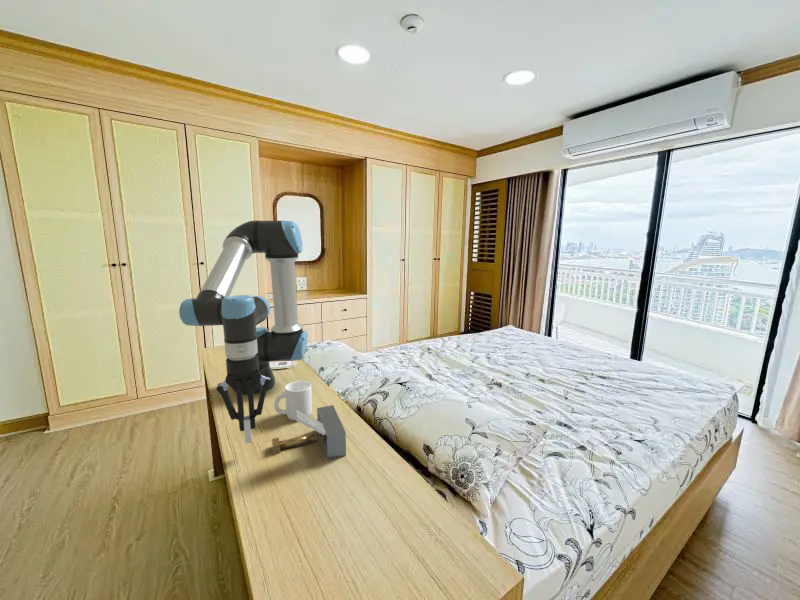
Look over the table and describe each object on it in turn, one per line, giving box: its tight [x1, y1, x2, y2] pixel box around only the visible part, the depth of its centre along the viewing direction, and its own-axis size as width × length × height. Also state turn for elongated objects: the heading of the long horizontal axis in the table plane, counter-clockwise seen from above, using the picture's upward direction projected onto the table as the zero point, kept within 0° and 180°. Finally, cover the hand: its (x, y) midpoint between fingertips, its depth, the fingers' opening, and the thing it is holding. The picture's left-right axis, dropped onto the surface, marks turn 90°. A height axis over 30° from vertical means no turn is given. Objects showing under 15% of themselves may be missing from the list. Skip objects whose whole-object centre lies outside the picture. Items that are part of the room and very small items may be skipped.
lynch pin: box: [271, 433, 317, 455], centre depth 95 cm, size 12×4×2 cm, turn 113°
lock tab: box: [294, 409, 326, 435], centre depth 88 cm, size 5×9×1 cm
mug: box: [273, 380, 313, 421], centre depth 110 cm, size 12×8×10 cm
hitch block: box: [316, 404, 347, 461], centre depth 96 cm, size 16×5×7 cm, turn 23°
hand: (248, 440), depth 89 cm, fingers closed
